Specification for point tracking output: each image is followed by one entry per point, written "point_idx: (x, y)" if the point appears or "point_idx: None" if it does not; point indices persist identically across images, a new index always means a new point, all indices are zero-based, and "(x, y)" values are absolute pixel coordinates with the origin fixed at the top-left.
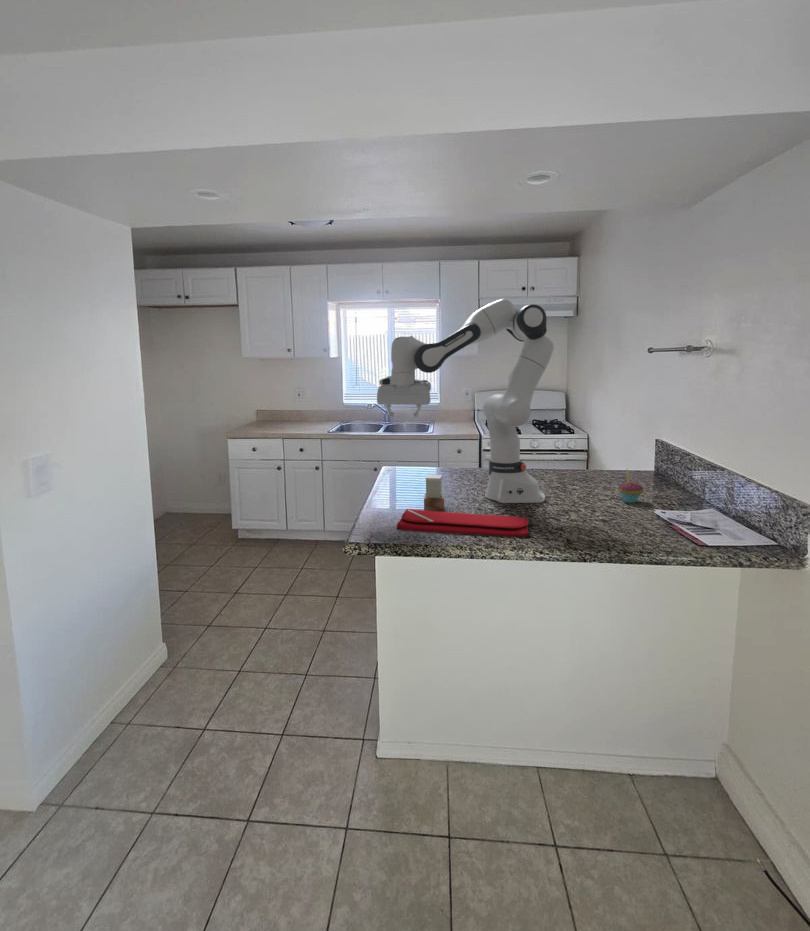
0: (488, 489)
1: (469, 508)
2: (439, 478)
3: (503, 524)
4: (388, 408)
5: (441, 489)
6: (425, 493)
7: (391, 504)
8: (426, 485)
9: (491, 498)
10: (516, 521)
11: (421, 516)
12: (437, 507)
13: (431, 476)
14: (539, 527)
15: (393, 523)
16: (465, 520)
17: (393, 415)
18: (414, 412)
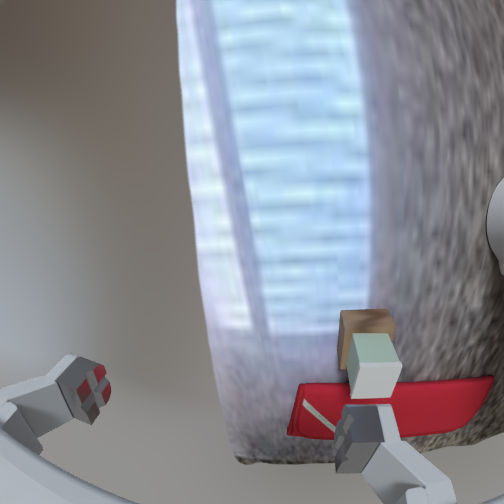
0: (501, 235)
1: (436, 318)
2: (388, 397)
3: (445, 427)
4: (37, 434)
5: (390, 343)
6: (346, 329)
7: (252, 300)
8: (350, 383)
9: (493, 250)
10: (467, 412)
11: (329, 427)
12: None
13: (369, 383)
14: (492, 390)
15: (277, 408)
16: (399, 427)
17: (104, 389)
18: (344, 471)
